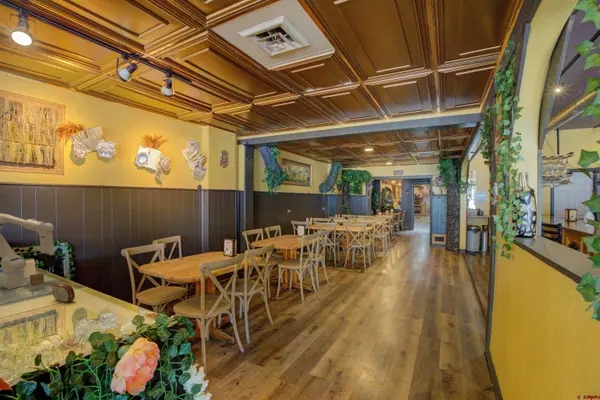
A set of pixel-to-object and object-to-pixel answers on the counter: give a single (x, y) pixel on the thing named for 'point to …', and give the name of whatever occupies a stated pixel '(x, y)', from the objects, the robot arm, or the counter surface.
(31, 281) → the walnut block
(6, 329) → the counter surface
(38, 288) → the slate block
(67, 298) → the tin
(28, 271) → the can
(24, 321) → the counter surface
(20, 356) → the counter surface
